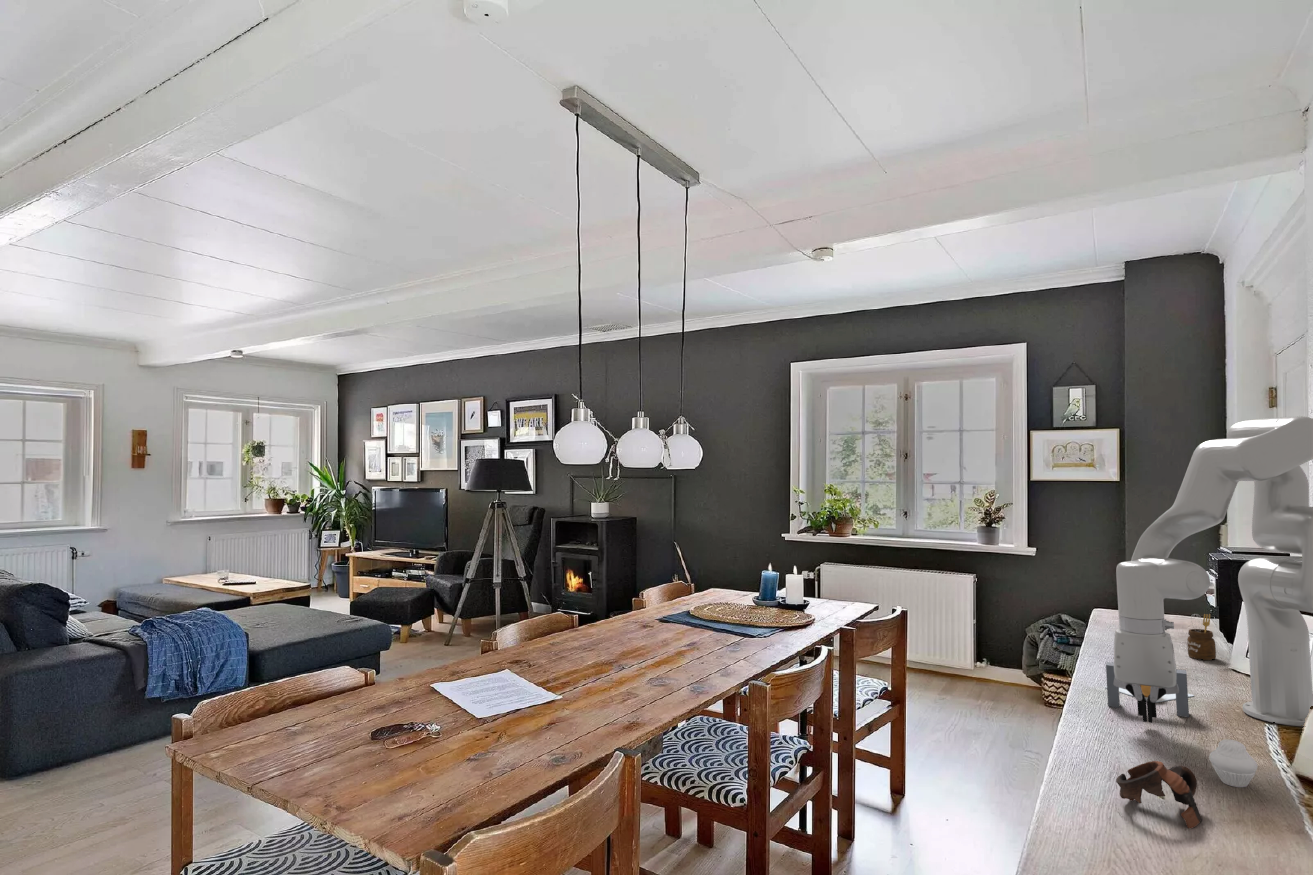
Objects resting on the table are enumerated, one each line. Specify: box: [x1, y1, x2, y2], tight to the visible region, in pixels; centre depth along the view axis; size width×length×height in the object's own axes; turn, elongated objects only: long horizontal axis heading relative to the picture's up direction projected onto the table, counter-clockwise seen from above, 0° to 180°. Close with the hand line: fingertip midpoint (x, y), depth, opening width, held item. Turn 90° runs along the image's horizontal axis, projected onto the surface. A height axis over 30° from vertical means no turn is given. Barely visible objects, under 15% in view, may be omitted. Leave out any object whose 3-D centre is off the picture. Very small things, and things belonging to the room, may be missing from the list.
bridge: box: [1105, 661, 1190, 718], centre depth 153 cm, size 3×14×9 cm, turn 56°
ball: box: [1141, 685, 1151, 697], centre depth 162 cm, size 5×5×5 cm
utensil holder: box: [1186, 613, 1217, 661], centre depth 191 cm, size 6×6×12 cm
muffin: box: [1208, 738, 1258, 788], centre depth 118 cm, size 6×6×7 cm
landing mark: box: [1104, 685, 1195, 703], centre depth 165 cm, size 12×12×1 cm
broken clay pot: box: [1115, 760, 1203, 829], centre depth 110 cm, size 12×10×8 cm
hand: (1147, 720), depth 143 cm, fingers closed
